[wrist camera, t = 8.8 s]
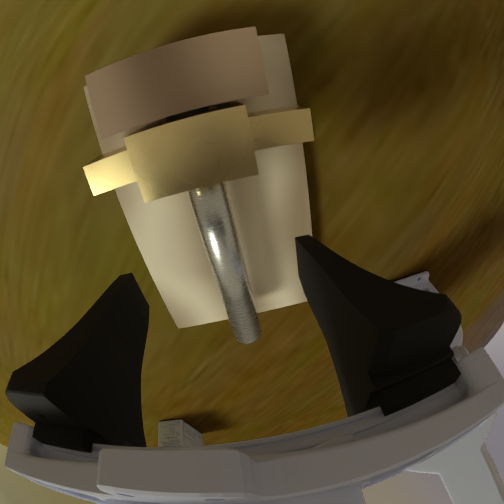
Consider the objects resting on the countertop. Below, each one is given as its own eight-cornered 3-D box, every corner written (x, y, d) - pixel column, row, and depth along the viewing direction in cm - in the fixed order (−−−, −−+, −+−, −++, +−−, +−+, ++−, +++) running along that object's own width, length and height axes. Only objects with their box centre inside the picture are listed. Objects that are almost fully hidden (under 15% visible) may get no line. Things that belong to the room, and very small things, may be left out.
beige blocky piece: (278, 37, 13) (314, 12, 8) (310, 287, 24) (336, 345, 19) (93, 86, 13) (37, 91, 8) (179, 316, 24) (175, 378, 19)
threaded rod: (207, 103, 12) (206, 104, 11) (259, 320, 21) (263, 340, 19) (169, 113, 12) (162, 117, 11) (233, 325, 21) (236, 345, 19)
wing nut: (288, 92, 14) (318, 94, 10) (295, 140, 16) (326, 162, 11) (103, 139, 14) (65, 162, 10) (118, 184, 16) (88, 220, 11)
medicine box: (158, 420, 37) (157, 468, 29) (182, 418, 36) (183, 468, 29) (180, 435, 41) (182, 478, 34) (203, 433, 41) (206, 477, 34)
